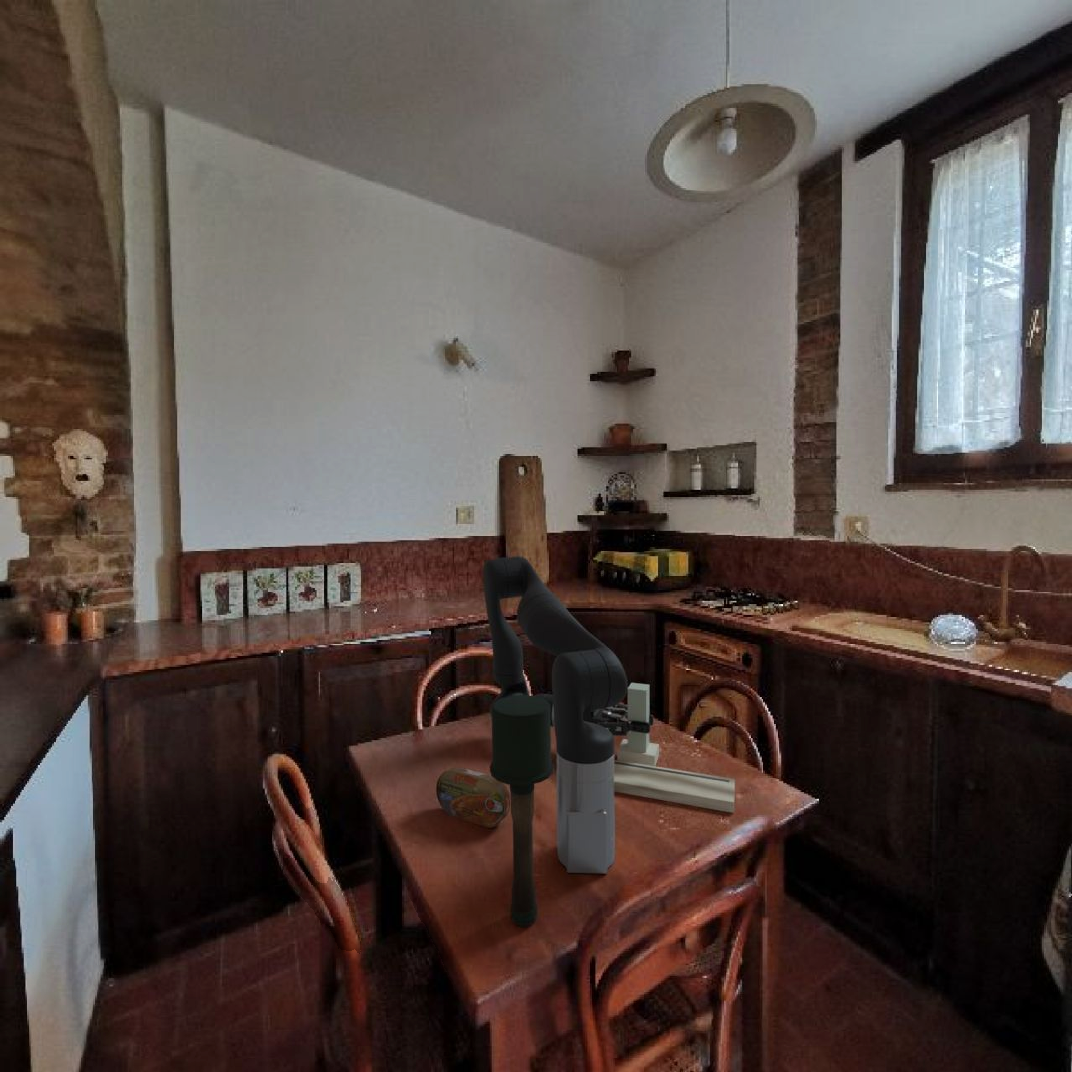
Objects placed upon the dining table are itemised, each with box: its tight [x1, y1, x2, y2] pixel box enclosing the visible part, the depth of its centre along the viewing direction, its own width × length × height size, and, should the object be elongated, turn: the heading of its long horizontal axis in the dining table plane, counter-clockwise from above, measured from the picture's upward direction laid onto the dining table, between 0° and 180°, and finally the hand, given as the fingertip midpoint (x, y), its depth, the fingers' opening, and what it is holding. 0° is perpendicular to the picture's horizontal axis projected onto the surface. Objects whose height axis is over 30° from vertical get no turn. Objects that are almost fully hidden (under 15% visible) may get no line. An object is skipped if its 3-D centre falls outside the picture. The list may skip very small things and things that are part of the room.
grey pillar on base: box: [616, 682, 660, 766], centre depth 119 cm, size 6×8×16 cm
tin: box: [435, 766, 511, 828], centre depth 99 cm, size 15×3×8 cm, turn 61°
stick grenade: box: [489, 694, 555, 928], centre depth 74 cm, size 8×9×30 cm
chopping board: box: [614, 759, 736, 814], centre depth 108 cm, size 9×26×2 cm, turn 69°
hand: (651, 724), depth 118 cm, fingers closed on grey pillar on base, 4 cm apart
